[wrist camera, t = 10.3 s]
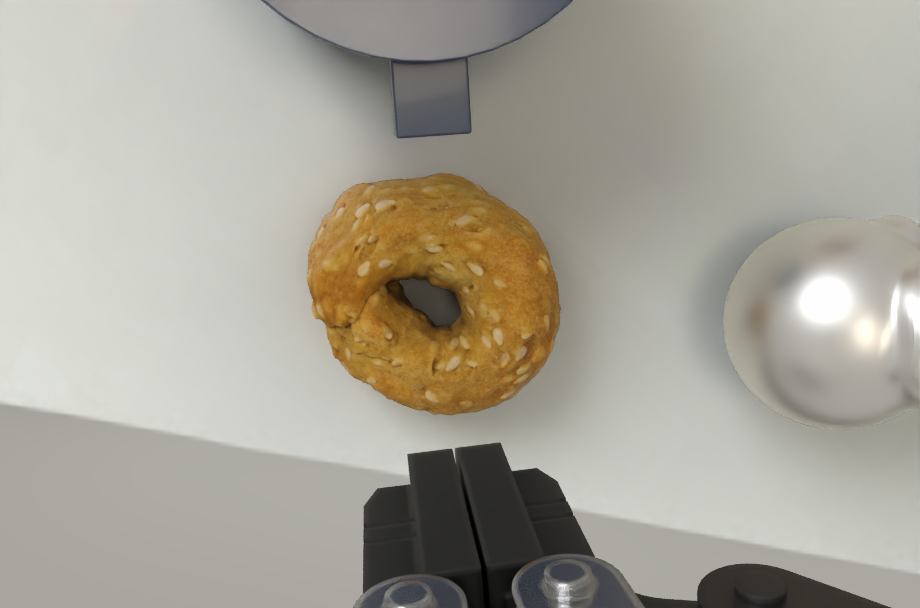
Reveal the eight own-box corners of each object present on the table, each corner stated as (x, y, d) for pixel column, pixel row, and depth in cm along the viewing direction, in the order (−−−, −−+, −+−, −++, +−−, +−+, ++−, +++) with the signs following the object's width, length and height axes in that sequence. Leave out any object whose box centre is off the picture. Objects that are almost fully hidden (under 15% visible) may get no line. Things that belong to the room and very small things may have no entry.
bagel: (416, 112, 34) (428, 115, 30) (590, 287, 37) (625, 315, 33) (255, 282, 35) (242, 311, 31) (438, 440, 38) (451, 487, 34)
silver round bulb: (860, 388, 40) (1021, 481, 31) (678, 384, 39) (787, 479, 29) (897, 205, 38) (1083, 244, 29) (706, 193, 37) (833, 230, 27)
